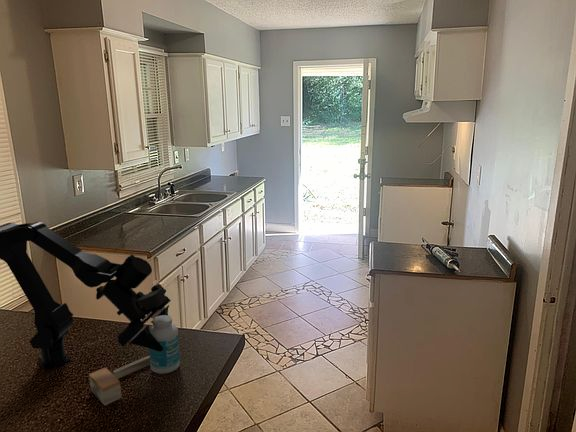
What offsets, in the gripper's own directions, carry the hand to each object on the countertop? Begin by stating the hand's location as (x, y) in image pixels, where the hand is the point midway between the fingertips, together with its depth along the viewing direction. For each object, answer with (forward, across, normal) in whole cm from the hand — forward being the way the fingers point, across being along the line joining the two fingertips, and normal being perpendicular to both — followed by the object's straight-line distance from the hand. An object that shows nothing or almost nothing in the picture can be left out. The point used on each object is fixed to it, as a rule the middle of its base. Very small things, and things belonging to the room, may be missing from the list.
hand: (168, 342), depth 111 cm
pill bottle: (+4, 0, +6) cm, 7 cm away
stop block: (-2, -12, +13) cm, 18 cm away
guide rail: (0, 0, +11) cm, 11 cm away
